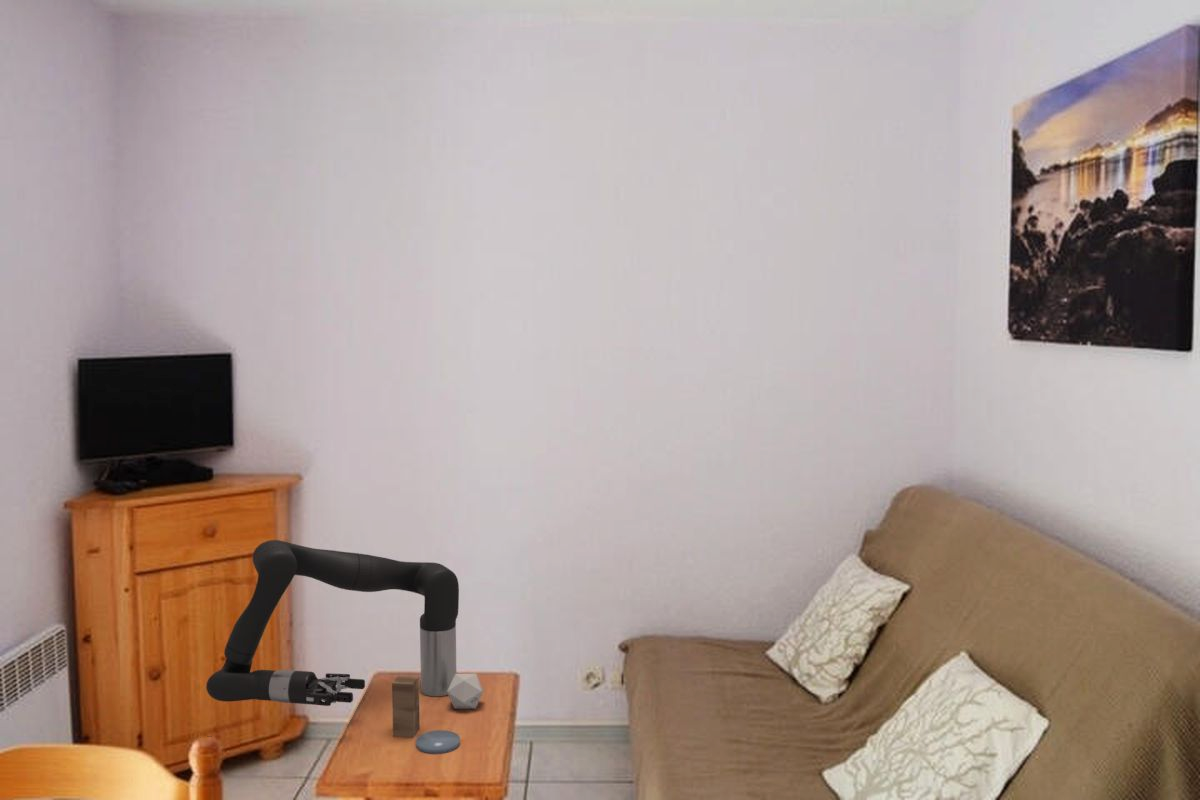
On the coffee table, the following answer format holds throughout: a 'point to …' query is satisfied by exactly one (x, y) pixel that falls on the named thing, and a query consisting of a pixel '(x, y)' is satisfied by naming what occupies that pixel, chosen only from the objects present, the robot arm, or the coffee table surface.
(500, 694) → the coffee table surface
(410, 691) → the walnut block
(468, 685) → the die
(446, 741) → the slate dish
